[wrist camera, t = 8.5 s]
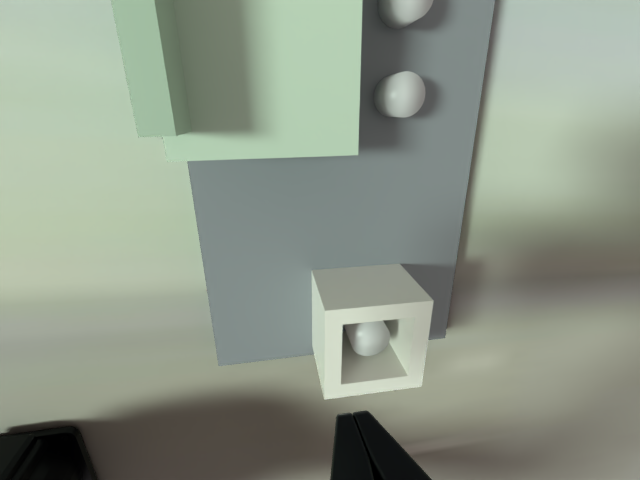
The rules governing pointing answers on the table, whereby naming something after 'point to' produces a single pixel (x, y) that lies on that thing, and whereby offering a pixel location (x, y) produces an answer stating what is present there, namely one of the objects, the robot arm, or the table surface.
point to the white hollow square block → (368, 306)
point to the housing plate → (352, 189)
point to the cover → (244, 76)
